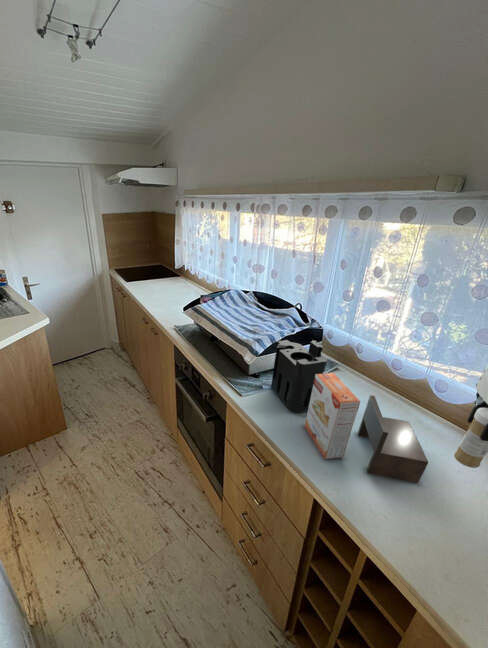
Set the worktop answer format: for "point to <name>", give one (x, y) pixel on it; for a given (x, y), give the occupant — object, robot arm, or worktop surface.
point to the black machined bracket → (296, 373)
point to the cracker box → (331, 415)
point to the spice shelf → (392, 446)
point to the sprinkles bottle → (474, 441)
